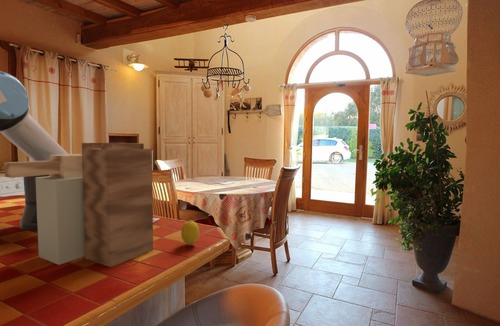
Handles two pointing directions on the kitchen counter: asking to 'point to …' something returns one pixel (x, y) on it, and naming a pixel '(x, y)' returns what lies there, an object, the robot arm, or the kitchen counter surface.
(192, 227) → the lemon
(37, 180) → the sage block
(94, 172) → the walnut stand
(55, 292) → the kitchen counter surface
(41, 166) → the mallet
